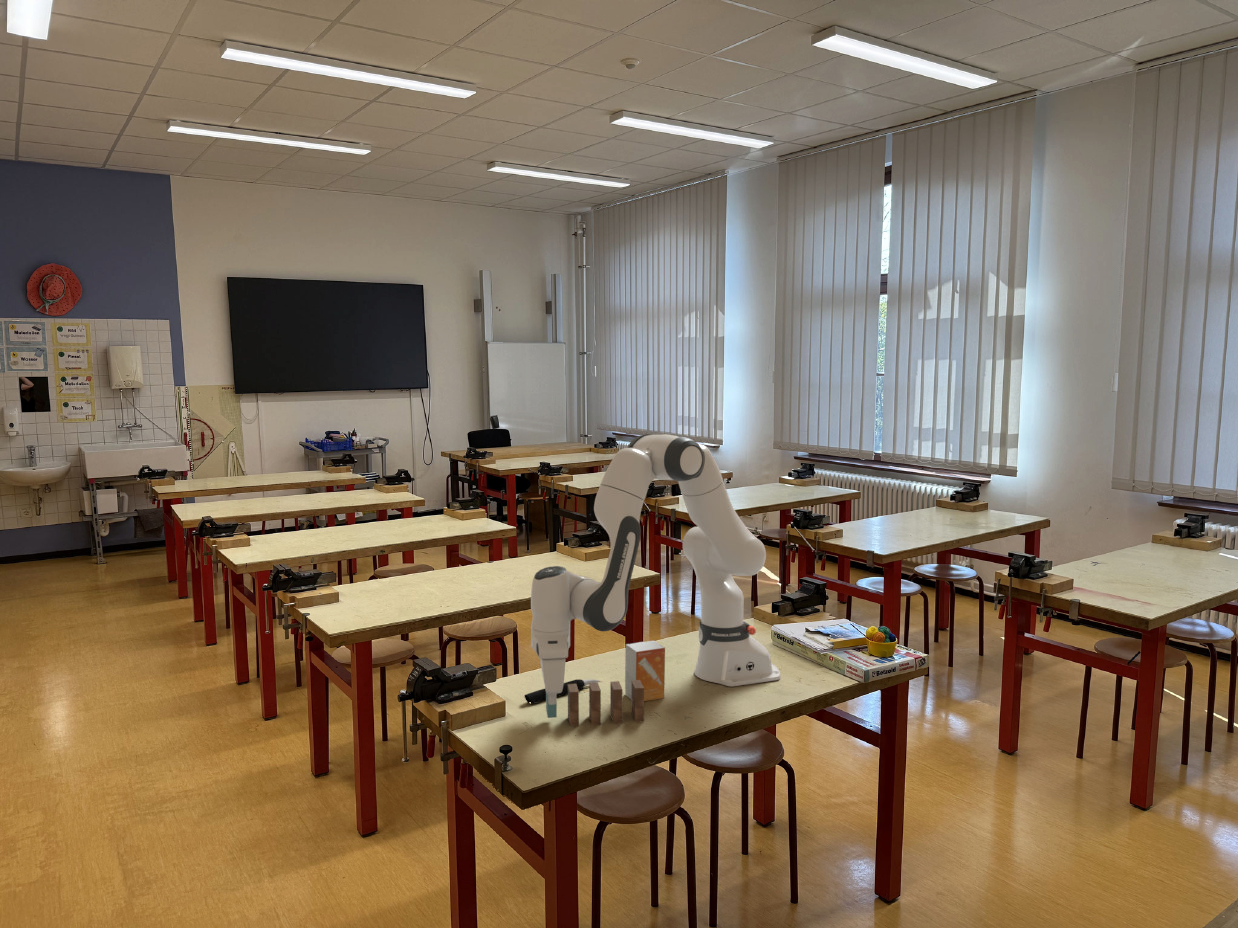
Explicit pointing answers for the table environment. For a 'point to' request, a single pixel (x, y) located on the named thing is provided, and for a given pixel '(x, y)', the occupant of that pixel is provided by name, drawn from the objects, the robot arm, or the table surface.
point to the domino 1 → (551, 708)
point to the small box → (645, 668)
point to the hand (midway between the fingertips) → (550, 697)
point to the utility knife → (541, 694)
